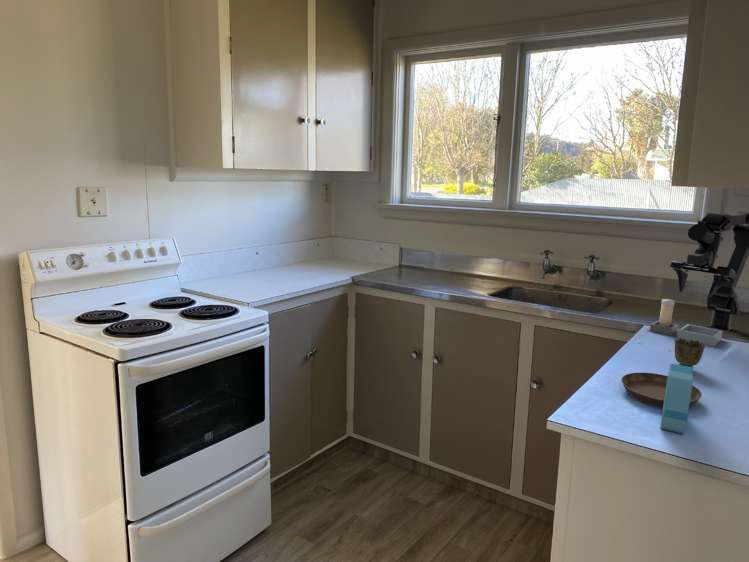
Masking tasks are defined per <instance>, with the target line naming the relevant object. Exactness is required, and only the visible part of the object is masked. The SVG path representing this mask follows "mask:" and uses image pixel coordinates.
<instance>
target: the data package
mask: <svg viewBox="0 0 749 562" xmlns="http://www.w3.org/2000/svg"><path fill="white" fill-rule="evenodd" d="M693 369H694V367H693V368H692V367H688V366H682V365H679V364H675V363H669V367H668V374H667V376H668V379H667V385H666V392H665V398H664V405H663V407H662V413H661V419H660V420H661V421H660V429H661V430H666V431H668V432H674V433H678V434H683V435H684V434H685V431H686V426H687V425H686V424H687V420H688V414H689V408H690V406H689V403H690V397H691V391H692V385H693V384H694V373H693V371H694V370H693Z"/></svg>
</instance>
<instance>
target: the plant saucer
mask: <svg viewBox="0 0 749 562" xmlns="http://www.w3.org/2000/svg"><path fill="white" fill-rule="evenodd" d="M667 379H668V375H665V374H661V373H654V372H653V373H652V372H632V373H631V372H630V373H627V374H625V375H623V376H622V377H621V379H620V380H621V383H622V385H623V387H624V389H625V390H626V392H627V394H629V395H630V396H631V397H632V398H634V399H635V400H638V401H640V402H642V403H645V404H647V405H651V406H655V407H660V408H663V405H664V398H665V392H666V385H667ZM702 394H703V393H702V391H701V390H700V389H699V388H698V387H696V386H695V385H693V384H692V391H691V397H690V403H689V407H690V406H692V405H694V404H696V403H697V402H699V400H700V399H701V398H702V397H703V395H702Z"/></svg>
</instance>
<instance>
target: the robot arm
mask: <svg viewBox="0 0 749 562" xmlns="http://www.w3.org/2000/svg"><path fill="white" fill-rule="evenodd" d="M731 227H732V230H731ZM729 230H731V231H732V233H733V241H734V245H735V247H734V249H733V251H732V254H731V256H730V258H729V262H728V263H727V266H720V265H718V266H717V267H715V266H714V265H715V261H716V259H718V257H719V256H718V252H719V249H720V245H721V242H723V241H724V237H723V235H722V232H724V233H725V232H727V231H729ZM687 236H688V238H689V239H690V240H692V241H693V242H695V244H697V245H698V247H697V248H696V249H695V251H694V253H688V254H687V256H686V257H687V258H686V261H683V260H675V259H673V260H672V261H671V262H670V265H669V268H670V269H672V271H673V272H675V273H676V275H677V278H678V279H677V280H678V289H679V292H680V293H683V291H684V289H685V285H686V283H687V280H688V277H689V274H688V272H698V273H704V274H705V273H706V274H712V275H713V280H712V283H711V287H710V289H709V292H708V295H707V298H706V306H707V310H711V311H712V316H711V322H710V324H708V325H707V328H710V329H715V330H720V331H727V332H729V331H730V330H731V329H732V328H733V327H732V326H730V324H731V320H732V316H733V315H734V316H736V315H738V314H739V312H740V305H739V302H738V300H737V299H738V293H737V289H736V286H738V285H737V284H738V282H739V280H740V277H741V276H742V275H741V274H742V272H743V270H744V267H745V265H746V262H747V259H748V258H749V212H746V211H737V212H733V213H732V212H731V213H720V212H718V213H716V212H707V213H706V214H705V215H704V217H703V218H701V220H698V221H697V223H696V224H694V225H692V226H691V227H690V228H689V229H688V231H687Z"/></svg>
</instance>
